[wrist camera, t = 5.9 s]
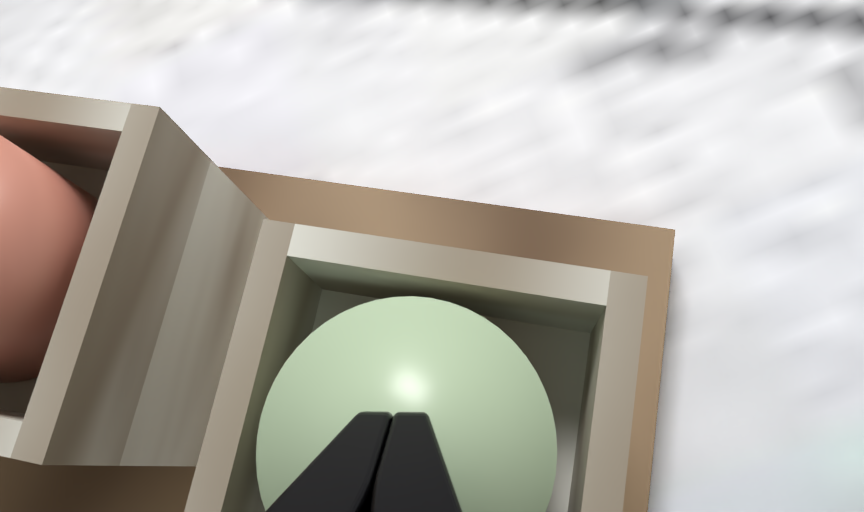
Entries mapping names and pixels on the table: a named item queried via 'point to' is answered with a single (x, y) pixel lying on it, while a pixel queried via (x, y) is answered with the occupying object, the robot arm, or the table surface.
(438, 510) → the robot arm
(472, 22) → the table surface
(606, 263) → the button console
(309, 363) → the green button
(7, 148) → the red button
